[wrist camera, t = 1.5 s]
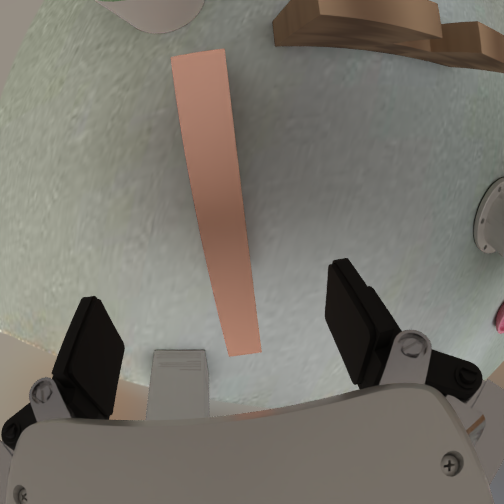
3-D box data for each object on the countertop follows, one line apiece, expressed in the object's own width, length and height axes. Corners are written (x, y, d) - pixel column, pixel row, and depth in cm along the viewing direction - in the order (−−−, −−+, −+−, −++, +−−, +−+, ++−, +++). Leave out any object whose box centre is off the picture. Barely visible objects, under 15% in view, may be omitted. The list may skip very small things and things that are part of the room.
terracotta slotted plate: (192, 73, 21) (170, 57, 11) (221, 69, 21) (224, 48, 11) (223, 268, 31) (229, 356, 21) (246, 265, 32) (261, 352, 21)
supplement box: (153, 348, 37) (142, 429, 26) (205, 348, 38) (207, 431, 27) (163, 378, 41) (157, 450, 30) (209, 378, 42) (212, 451, 31)
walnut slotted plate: (447, 46, 20) (530, 52, 10) (449, 66, 21) (532, 79, 11) (272, 21, 19) (313, -25, 9) (275, 46, 20) (320, 14, 10)
